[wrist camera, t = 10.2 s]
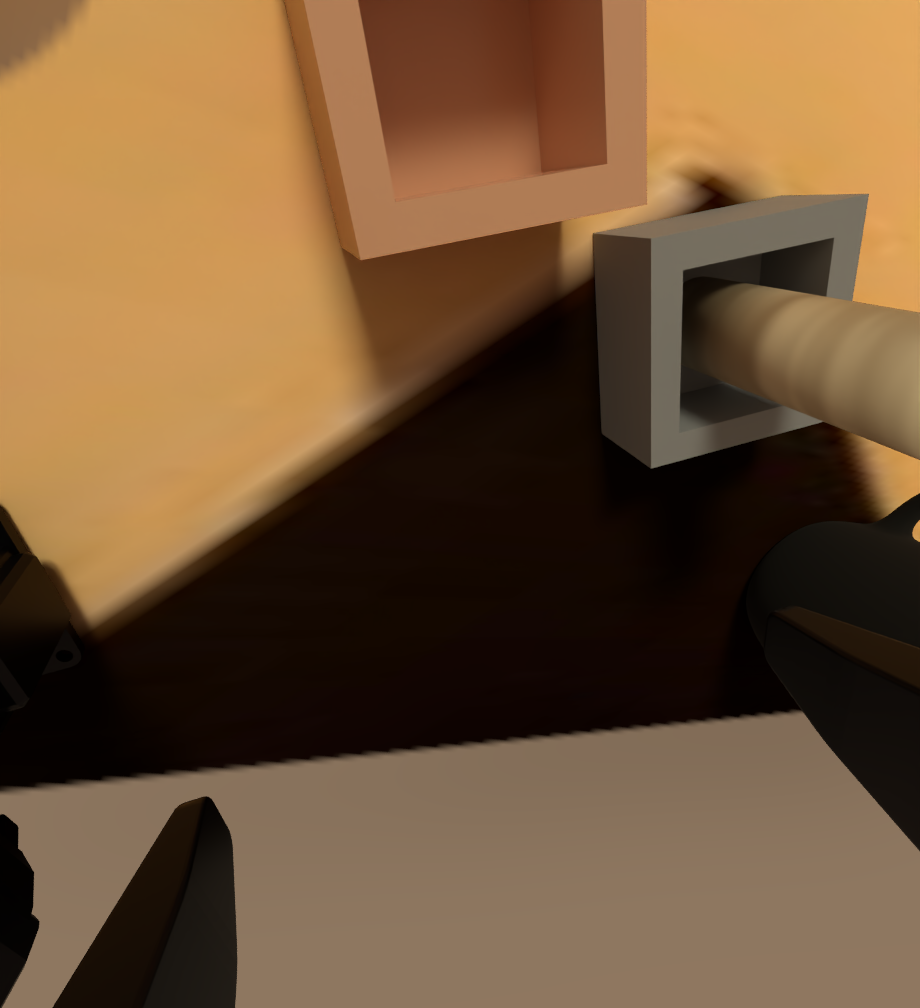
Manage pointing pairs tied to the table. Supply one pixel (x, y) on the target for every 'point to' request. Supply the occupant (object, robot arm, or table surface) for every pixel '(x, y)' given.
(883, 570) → the mug
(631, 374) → the socket block
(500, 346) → the table surface
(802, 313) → the dowel
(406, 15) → the square box
